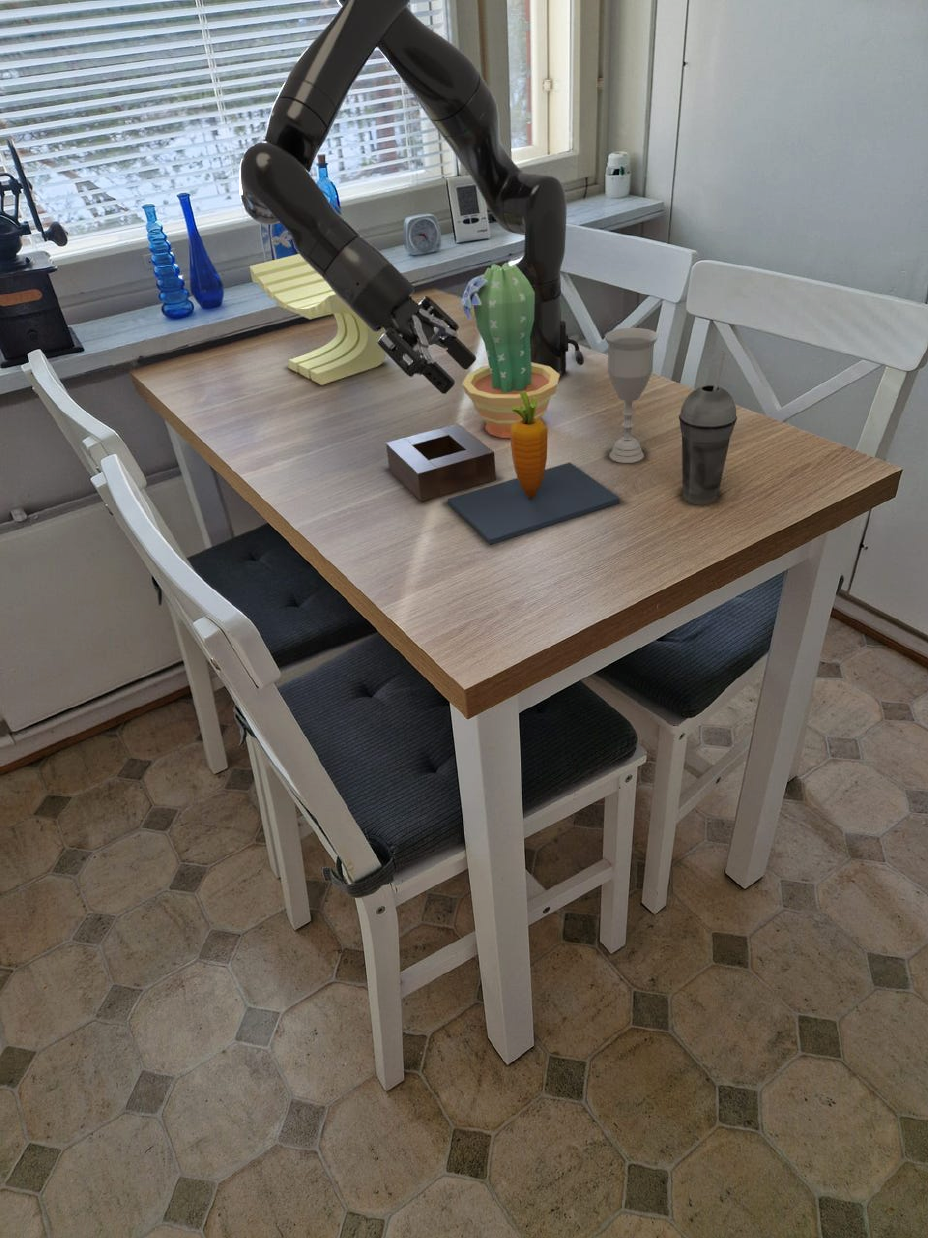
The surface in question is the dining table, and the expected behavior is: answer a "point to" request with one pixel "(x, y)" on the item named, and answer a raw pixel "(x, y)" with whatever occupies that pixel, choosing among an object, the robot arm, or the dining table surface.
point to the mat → (531, 503)
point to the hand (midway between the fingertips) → (461, 376)
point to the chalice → (629, 380)
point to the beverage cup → (705, 439)
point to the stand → (441, 462)
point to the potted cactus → (505, 349)
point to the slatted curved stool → (315, 298)
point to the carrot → (529, 446)
